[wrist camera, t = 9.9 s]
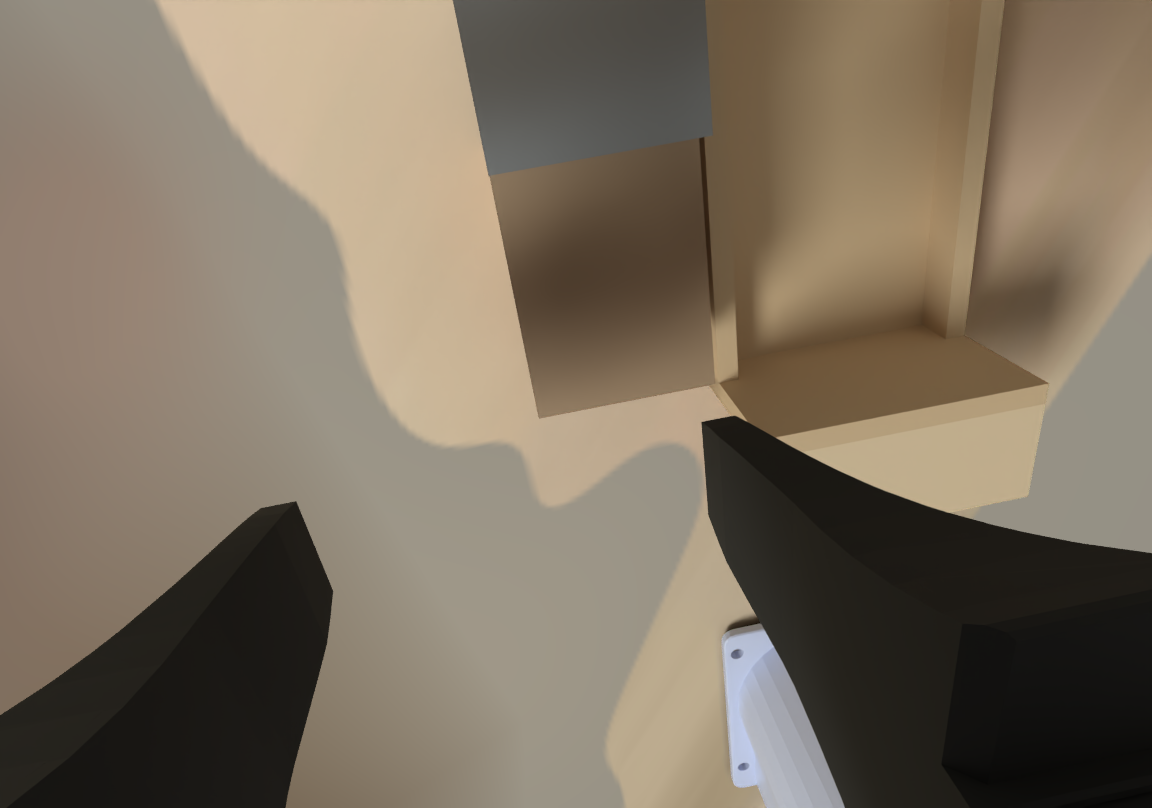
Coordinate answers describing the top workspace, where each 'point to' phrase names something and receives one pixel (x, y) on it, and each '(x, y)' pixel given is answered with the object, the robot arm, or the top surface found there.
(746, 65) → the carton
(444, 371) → the top surface
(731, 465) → the robot arm
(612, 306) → the box
